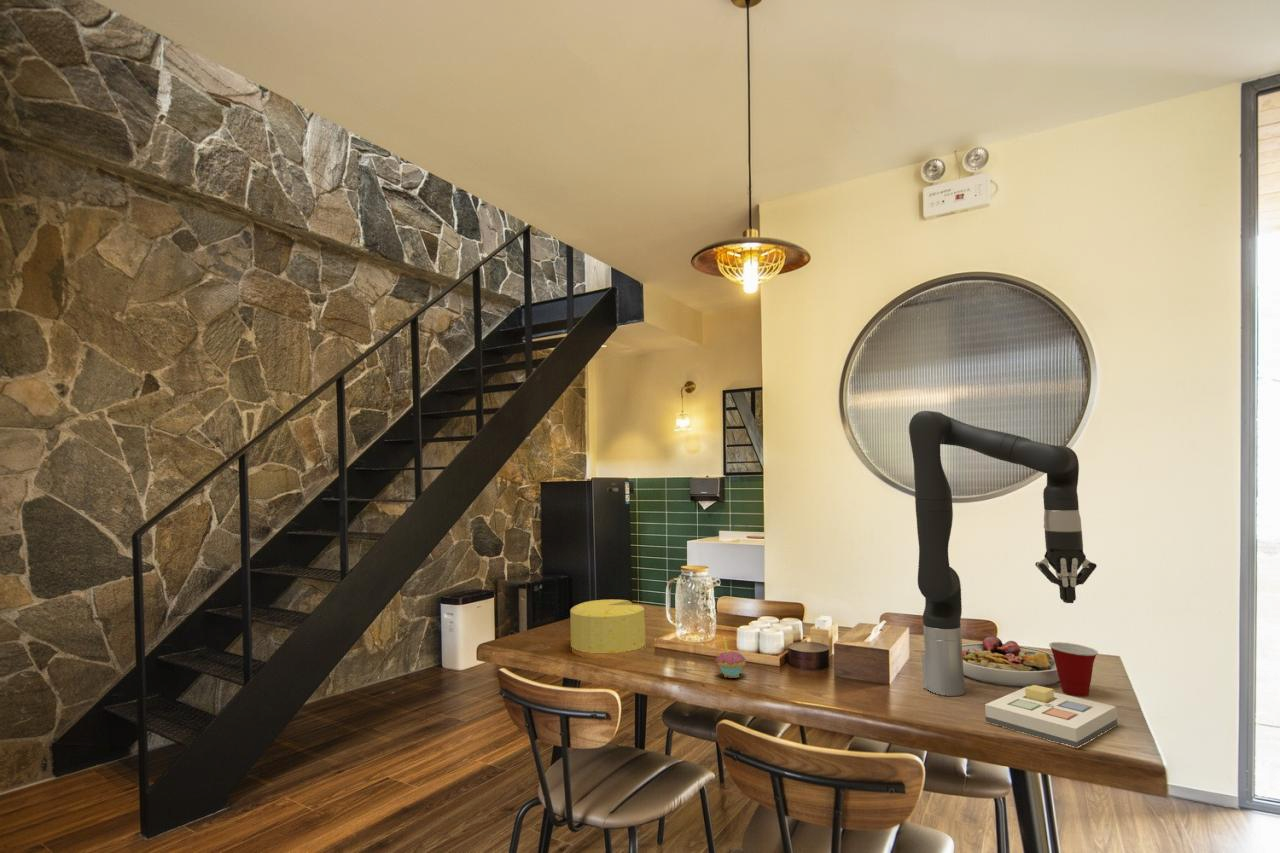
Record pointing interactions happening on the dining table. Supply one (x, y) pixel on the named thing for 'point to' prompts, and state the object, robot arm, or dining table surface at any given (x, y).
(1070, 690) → the plastic cup
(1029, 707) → the key sage
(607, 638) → the cheese
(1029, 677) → the bowl
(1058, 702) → the keypad board
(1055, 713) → the key terracotta
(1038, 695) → the key mustard
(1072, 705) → the key slate
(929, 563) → the robot arm
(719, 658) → the cupcake
